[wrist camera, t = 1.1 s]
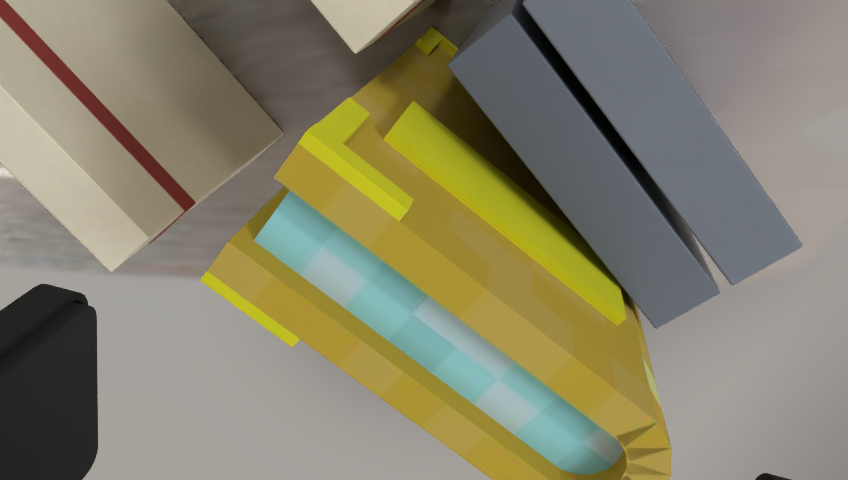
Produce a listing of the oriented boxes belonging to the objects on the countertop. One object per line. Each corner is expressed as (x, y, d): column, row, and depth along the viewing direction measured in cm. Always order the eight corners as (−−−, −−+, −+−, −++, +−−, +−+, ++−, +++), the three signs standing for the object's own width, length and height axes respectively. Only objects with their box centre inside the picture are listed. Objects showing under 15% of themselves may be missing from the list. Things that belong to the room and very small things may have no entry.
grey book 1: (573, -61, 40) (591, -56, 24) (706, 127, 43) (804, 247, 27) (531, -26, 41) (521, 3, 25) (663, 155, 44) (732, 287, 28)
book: (370, 108, 46) (200, 280, 23) (432, 26, 43) (306, 130, 20) (563, 262, 48) (578, 555, 25) (633, 193, 45) (720, 454, 23)
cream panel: (125, -49, 44) (-120, -38, 28) (285, 133, 47) (150, 238, 31) (97, -16, 45) (-154, 13, 29) (255, 159, 49) (110, 274, 32)
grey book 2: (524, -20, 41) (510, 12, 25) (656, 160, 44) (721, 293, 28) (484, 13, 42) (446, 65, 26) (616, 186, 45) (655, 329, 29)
